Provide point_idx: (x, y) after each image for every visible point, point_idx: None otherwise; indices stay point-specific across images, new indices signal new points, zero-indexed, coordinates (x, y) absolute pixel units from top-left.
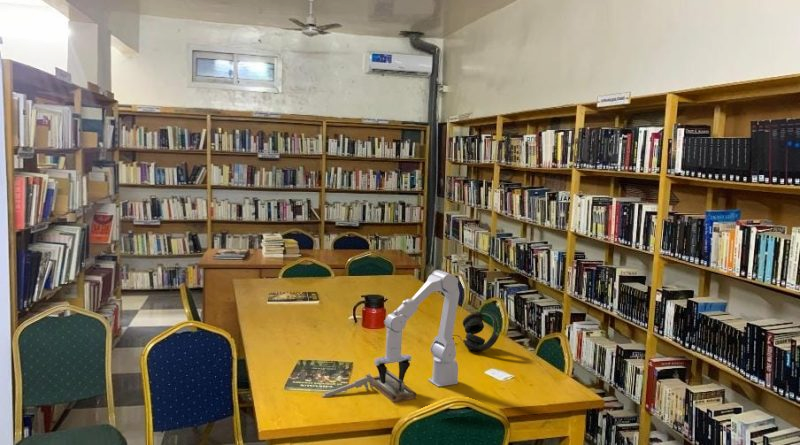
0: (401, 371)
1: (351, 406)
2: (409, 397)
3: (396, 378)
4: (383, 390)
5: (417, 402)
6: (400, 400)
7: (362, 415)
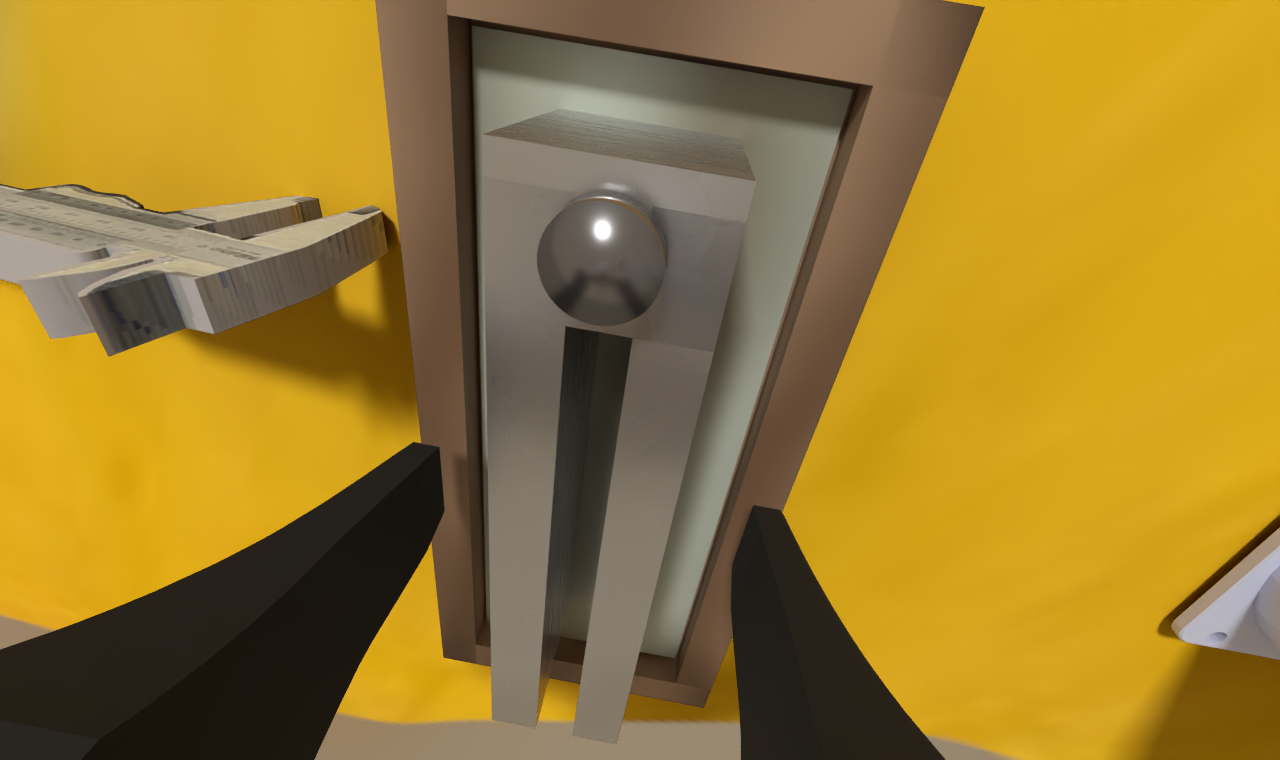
0: (761, 697)
1: (69, 494)
2: None
3: (598, 637)
4: None
5: None
6: None
7: None
